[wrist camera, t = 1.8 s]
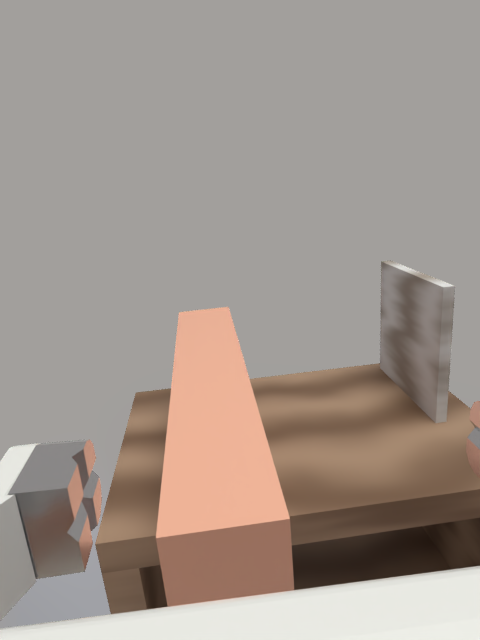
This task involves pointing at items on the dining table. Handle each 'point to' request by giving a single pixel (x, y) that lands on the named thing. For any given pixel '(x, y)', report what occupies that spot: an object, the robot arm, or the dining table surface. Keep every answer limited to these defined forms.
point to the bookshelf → (332, 461)
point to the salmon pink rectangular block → (218, 475)
